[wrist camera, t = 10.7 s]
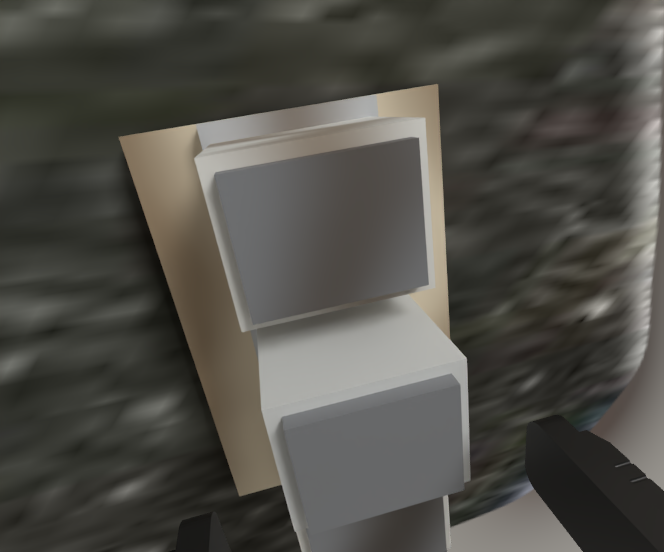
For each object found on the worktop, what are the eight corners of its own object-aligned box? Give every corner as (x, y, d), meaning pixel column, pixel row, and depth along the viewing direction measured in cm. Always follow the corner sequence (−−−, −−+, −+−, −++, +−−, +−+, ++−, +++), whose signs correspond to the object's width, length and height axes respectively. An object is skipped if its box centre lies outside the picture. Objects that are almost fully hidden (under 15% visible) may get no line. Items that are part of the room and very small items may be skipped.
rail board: (239, 473, 23) (237, 641, 16) (129, 135, 16) (33, 152, 9) (442, 418, 24) (527, 548, 17) (422, 86, 17) (550, 66, 10)
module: (277, 387, 18) (296, 548, 12) (254, 297, 17) (262, 424, 10) (394, 358, 19) (478, 494, 12) (384, 268, 17) (476, 369, 11)
